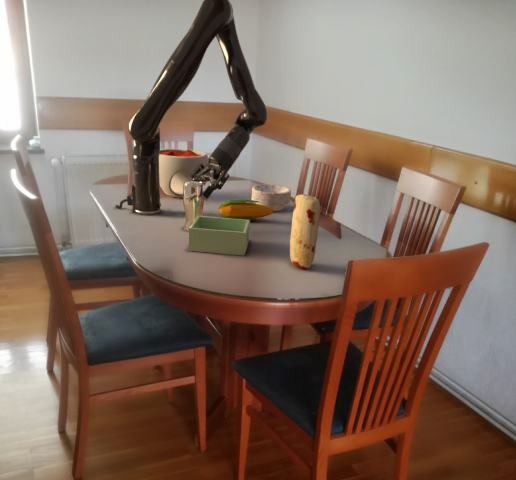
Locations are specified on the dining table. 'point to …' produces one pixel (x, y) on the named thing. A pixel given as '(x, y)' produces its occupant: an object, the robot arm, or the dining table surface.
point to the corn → (243, 210)
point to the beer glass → (192, 201)
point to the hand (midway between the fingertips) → (196, 194)
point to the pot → (178, 169)
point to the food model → (304, 230)
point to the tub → (219, 235)
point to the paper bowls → (271, 196)
